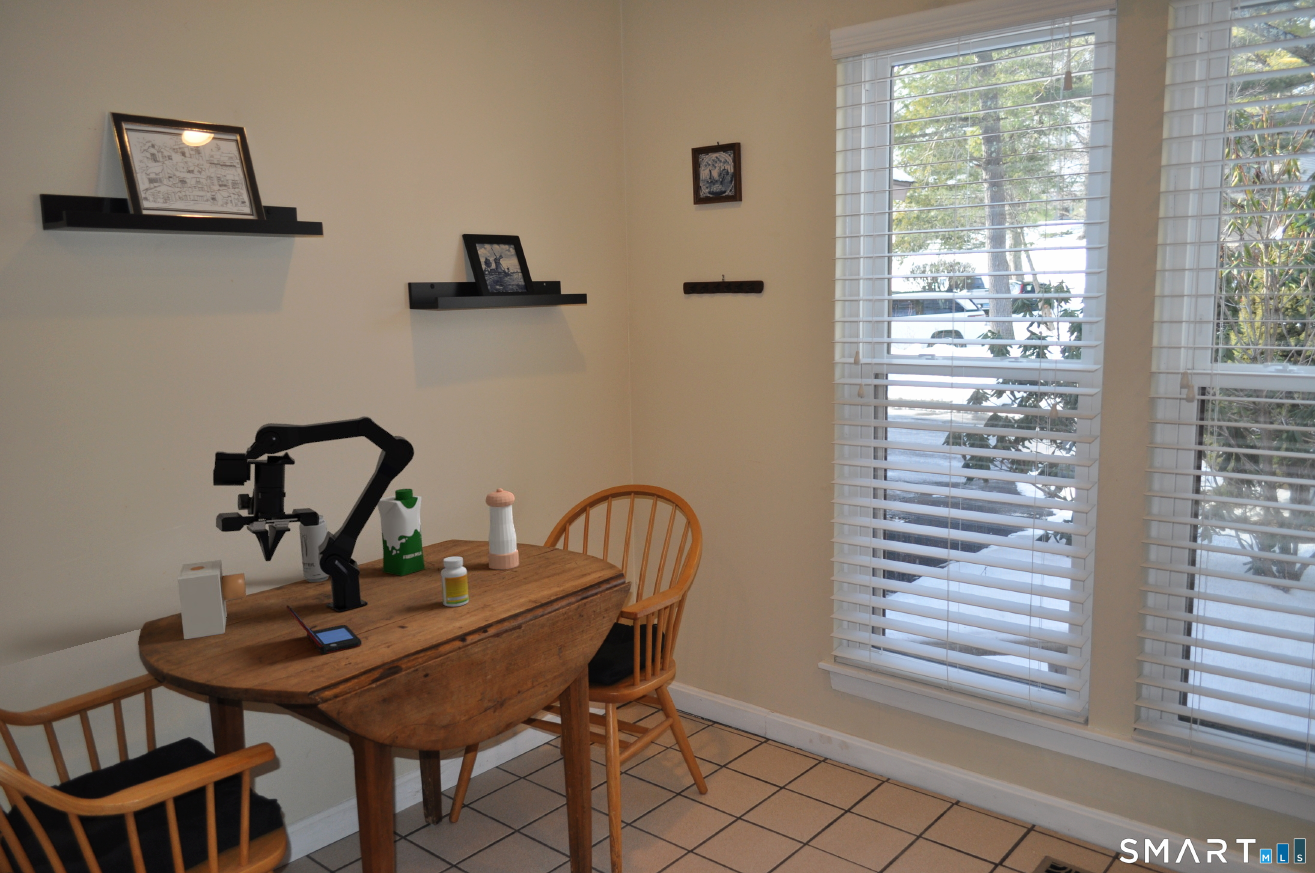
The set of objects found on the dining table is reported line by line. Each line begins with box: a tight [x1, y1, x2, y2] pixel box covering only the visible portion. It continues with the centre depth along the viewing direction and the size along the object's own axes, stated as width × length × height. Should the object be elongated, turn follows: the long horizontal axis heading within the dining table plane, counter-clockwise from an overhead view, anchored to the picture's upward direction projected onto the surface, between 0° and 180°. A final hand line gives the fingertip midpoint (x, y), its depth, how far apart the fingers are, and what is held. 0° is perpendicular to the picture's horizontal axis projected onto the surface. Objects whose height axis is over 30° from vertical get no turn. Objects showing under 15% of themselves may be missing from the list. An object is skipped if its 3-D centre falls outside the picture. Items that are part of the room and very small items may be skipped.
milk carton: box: [376, 488, 426, 577], centre depth 214 cm, size 9×9×20 cm
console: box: [177, 559, 228, 640], centre depth 178 cm, size 7×12×12 cm, turn 24°
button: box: [222, 572, 247, 602], centre depth 180 cm, size 4×5×5 cm
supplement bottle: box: [440, 556, 470, 608], centre depth 188 cm, size 5×5×10 cm
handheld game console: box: [286, 605, 363, 656], centre depth 167 cm, size 12×11×7 cm
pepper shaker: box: [485, 487, 520, 570], centre depth 215 cm, size 7×7×19 cm
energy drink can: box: [298, 514, 330, 583], centre depth 209 cm, size 6×6×15 cm
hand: (267, 560), depth 182 cm, fingers closed
